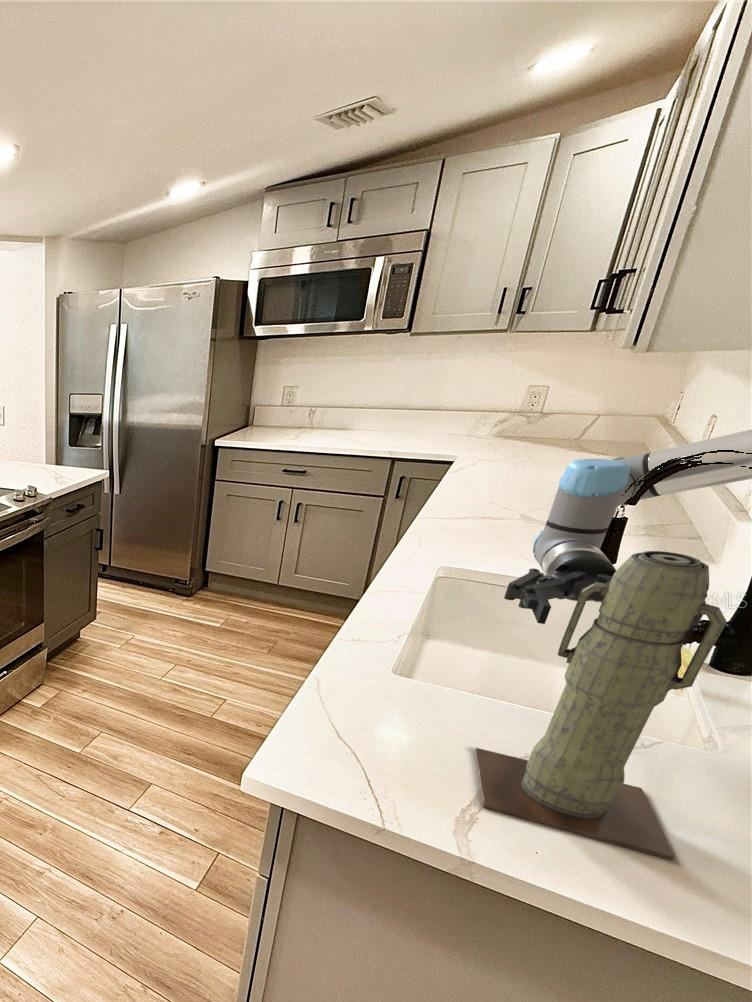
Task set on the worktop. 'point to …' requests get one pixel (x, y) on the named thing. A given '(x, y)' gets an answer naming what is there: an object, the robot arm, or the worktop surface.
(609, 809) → the board
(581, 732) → the thermos
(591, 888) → the worktop surface
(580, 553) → the robot arm
